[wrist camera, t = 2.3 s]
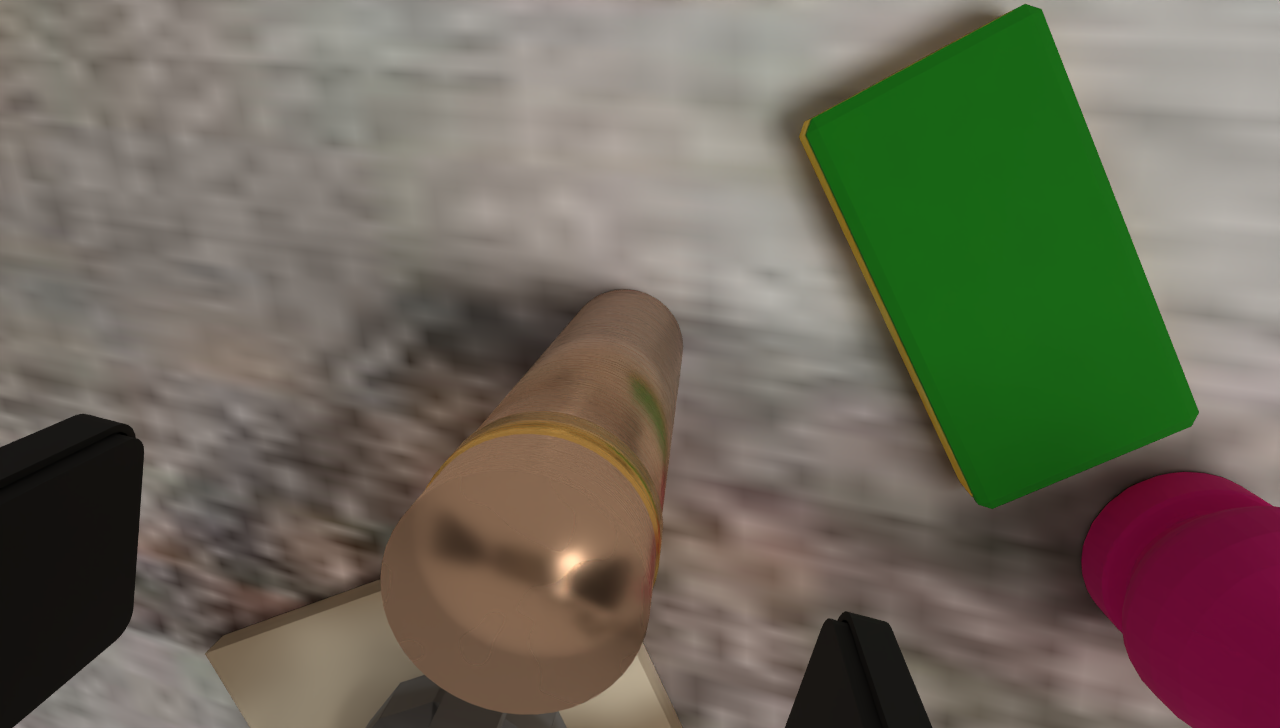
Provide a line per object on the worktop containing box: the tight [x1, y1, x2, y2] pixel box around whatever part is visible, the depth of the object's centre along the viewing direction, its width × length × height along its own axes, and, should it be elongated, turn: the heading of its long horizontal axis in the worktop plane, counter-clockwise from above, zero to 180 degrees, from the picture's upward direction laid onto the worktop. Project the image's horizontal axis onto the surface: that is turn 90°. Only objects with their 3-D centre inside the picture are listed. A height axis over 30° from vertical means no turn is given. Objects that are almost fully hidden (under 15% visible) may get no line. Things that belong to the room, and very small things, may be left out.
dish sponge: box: [799, 4, 1199, 509], centre depth 24 cm, size 7×14×2 cm, turn 28°
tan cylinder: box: [380, 289, 683, 714], centre depth 19 cm, size 4×4×16 cm
